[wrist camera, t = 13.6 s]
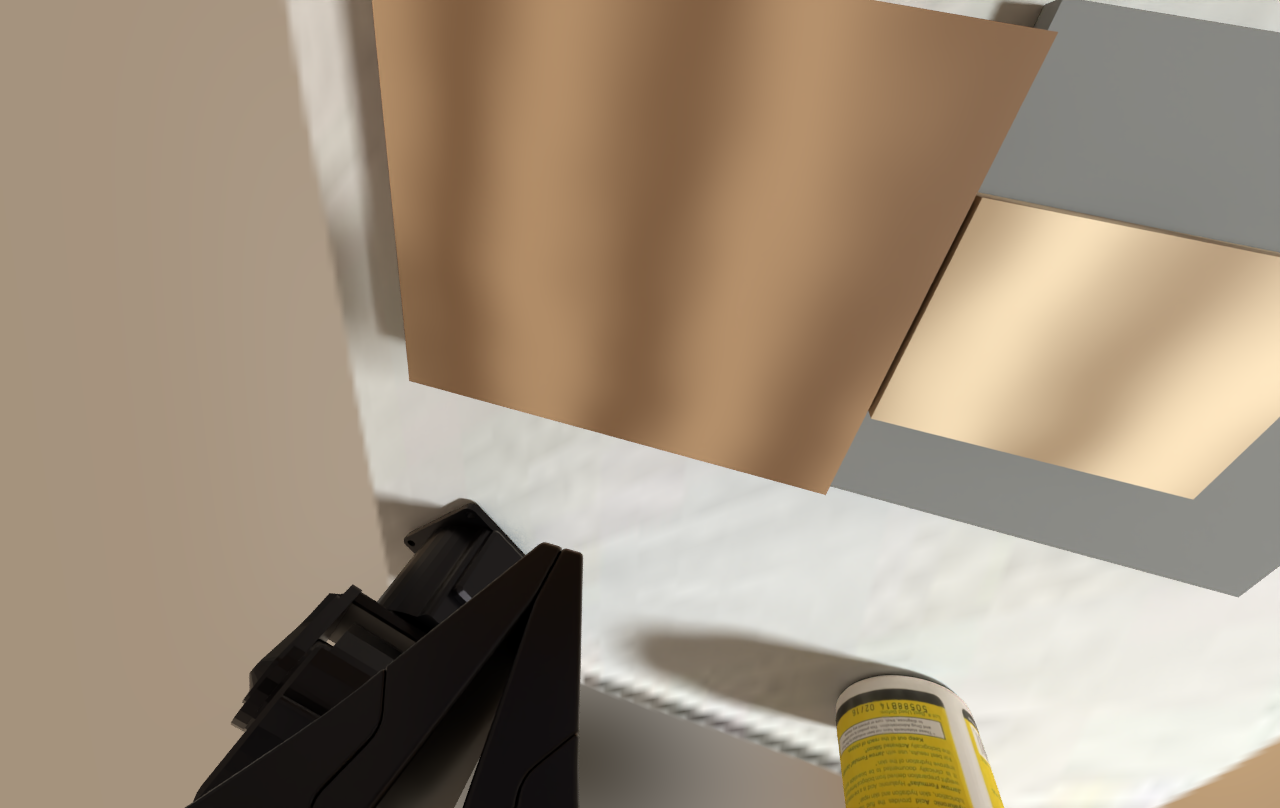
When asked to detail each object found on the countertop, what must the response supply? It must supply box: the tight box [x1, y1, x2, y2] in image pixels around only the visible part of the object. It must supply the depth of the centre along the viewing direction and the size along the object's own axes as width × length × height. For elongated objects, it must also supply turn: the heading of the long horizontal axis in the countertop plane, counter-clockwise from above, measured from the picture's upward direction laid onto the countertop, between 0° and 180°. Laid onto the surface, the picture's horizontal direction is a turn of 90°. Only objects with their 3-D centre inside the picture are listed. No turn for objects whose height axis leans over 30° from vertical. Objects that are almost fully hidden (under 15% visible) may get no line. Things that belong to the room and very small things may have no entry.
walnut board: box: [372, 0, 1058, 495], centre depth 17 cm, size 17×14×3 cm
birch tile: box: [868, 192, 1280, 499], centre depth 15 cm, size 10×7×2 cm
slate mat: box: [830, 0, 1280, 597], centre depth 16 cm, size 16×16×1 cm
